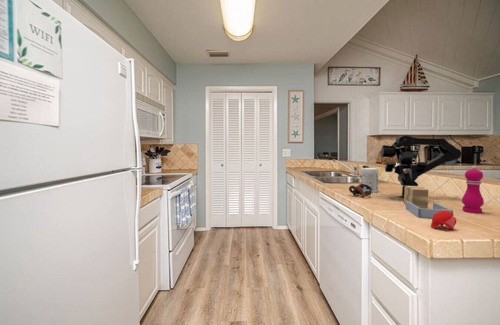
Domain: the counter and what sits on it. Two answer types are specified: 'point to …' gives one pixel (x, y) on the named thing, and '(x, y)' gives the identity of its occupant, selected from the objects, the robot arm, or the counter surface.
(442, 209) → the box
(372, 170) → the supplement tub
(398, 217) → the counter surface
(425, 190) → the oak block
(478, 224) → the counter surface
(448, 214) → the cap
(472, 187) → the pepper mill
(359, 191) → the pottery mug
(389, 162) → the robot arm
